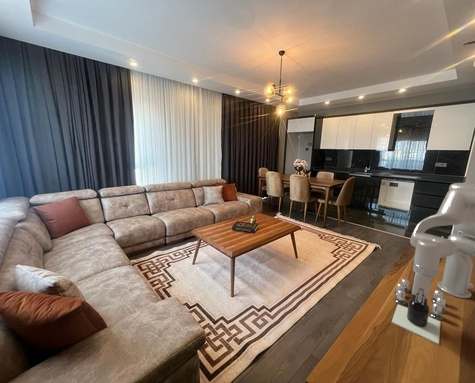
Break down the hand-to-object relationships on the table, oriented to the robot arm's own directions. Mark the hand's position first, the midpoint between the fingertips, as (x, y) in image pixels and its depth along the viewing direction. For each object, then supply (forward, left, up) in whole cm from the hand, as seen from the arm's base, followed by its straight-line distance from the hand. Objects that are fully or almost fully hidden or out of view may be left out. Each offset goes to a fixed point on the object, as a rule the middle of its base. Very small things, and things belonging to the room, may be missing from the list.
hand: (419, 304), depth 88 cm
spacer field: (-13, -10, -9) cm, 19 cm away
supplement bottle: (0, 0, -8) cm, 8 cm away
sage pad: (+1, 0, -9) cm, 9 cm away
